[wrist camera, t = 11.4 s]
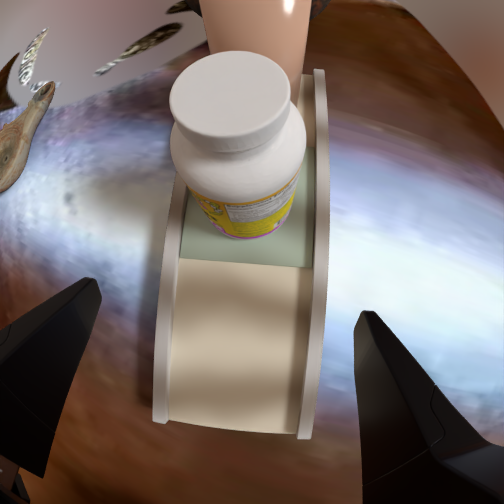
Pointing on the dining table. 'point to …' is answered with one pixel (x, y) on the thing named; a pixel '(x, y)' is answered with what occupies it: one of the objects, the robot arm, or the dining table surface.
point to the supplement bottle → (238, 141)
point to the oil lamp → (21, 136)
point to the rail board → (247, 304)
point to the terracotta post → (261, 31)
